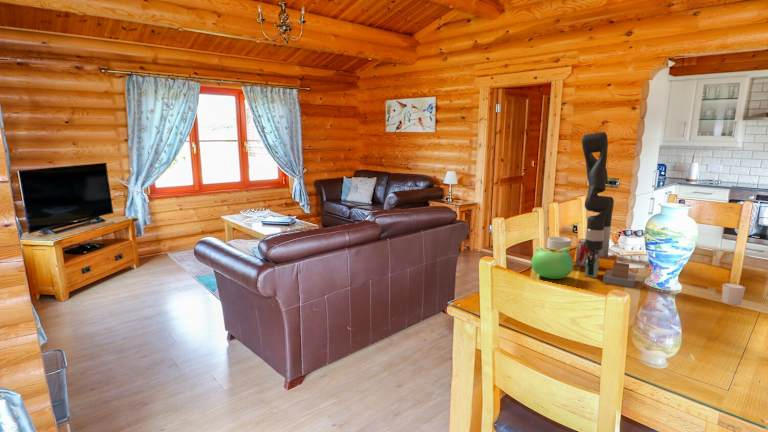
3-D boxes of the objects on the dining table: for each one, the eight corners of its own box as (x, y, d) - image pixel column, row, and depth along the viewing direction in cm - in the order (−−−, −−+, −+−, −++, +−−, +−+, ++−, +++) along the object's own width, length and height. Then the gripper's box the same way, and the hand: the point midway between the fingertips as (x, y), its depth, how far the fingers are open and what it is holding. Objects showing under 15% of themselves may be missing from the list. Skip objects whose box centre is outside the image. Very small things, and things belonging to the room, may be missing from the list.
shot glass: (738, 300, 166) (740, 283, 165) (746, 307, 160) (749, 289, 158) (717, 298, 168) (719, 281, 167) (724, 304, 162) (727, 287, 161)
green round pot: (528, 279, 191) (530, 248, 189) (533, 270, 206) (535, 241, 204) (571, 285, 183) (573, 253, 181) (573, 275, 198) (575, 245, 195)
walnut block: (613, 272, 192) (614, 261, 191) (628, 274, 189) (629, 264, 188) (611, 275, 187) (612, 265, 186) (627, 278, 184) (628, 267, 183)
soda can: (587, 263, 217) (589, 238, 215) (593, 267, 210) (595, 242, 208) (573, 262, 218) (575, 238, 216) (578, 266, 211) (580, 241, 209)
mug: (538, 259, 225) (540, 235, 223) (557, 258, 227) (558, 234, 225) (553, 267, 211) (555, 241, 208) (573, 266, 212) (575, 241, 210)
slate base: (606, 275, 197) (606, 269, 196) (635, 280, 190) (636, 274, 190) (602, 282, 187) (603, 276, 187) (633, 287, 180) (634, 281, 180)
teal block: (586, 273, 201) (587, 259, 200) (597, 274, 198) (599, 260, 197) (584, 275, 197) (585, 261, 196) (596, 277, 194) (597, 263, 193)
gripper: (588, 234, 203) (585, 268, 205) (583, 240, 191) (580, 276, 194) (605, 236, 198) (602, 271, 201) (601, 242, 187) (598, 279, 190)
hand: (591, 273), depth 198 cm, fingers closed on teal block, 5 cm apart
